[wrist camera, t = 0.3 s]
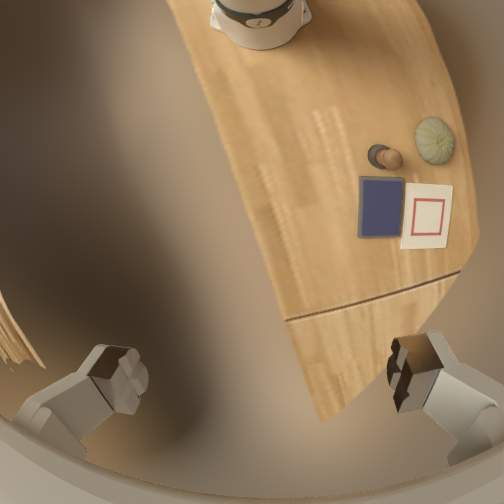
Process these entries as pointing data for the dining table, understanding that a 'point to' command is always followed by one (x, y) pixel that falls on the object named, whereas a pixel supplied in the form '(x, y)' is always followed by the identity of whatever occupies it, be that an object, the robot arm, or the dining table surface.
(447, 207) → the sheet
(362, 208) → the ink pad
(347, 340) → the dining table surface
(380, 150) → the stamp
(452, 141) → the sea urchin shell
